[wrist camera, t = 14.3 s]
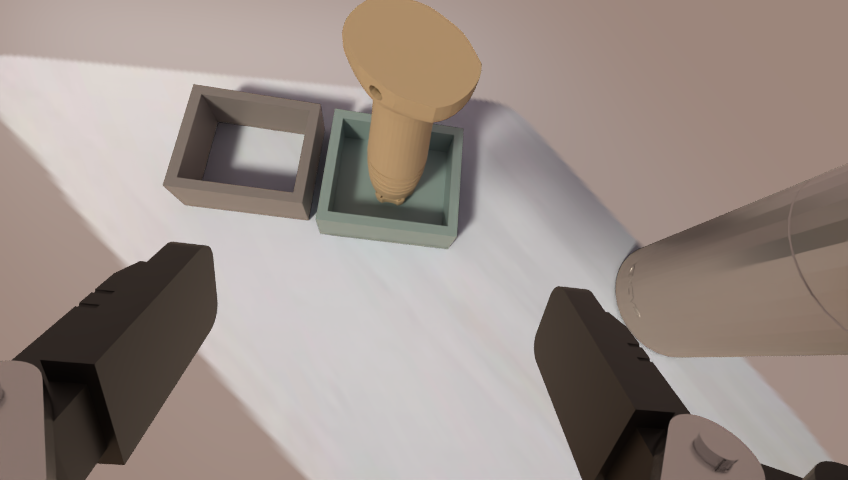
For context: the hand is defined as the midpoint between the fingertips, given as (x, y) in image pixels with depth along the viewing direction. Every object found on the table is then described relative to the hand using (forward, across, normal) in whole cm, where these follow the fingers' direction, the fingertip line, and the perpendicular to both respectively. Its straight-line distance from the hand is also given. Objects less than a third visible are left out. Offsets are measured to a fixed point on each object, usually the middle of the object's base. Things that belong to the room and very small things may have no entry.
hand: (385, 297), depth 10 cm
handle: (+22, 0, +6) cm, 23 cm away
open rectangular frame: (+23, +10, +6) cm, 26 cm away
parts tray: (+23, 0, +6) cm, 24 cm away
